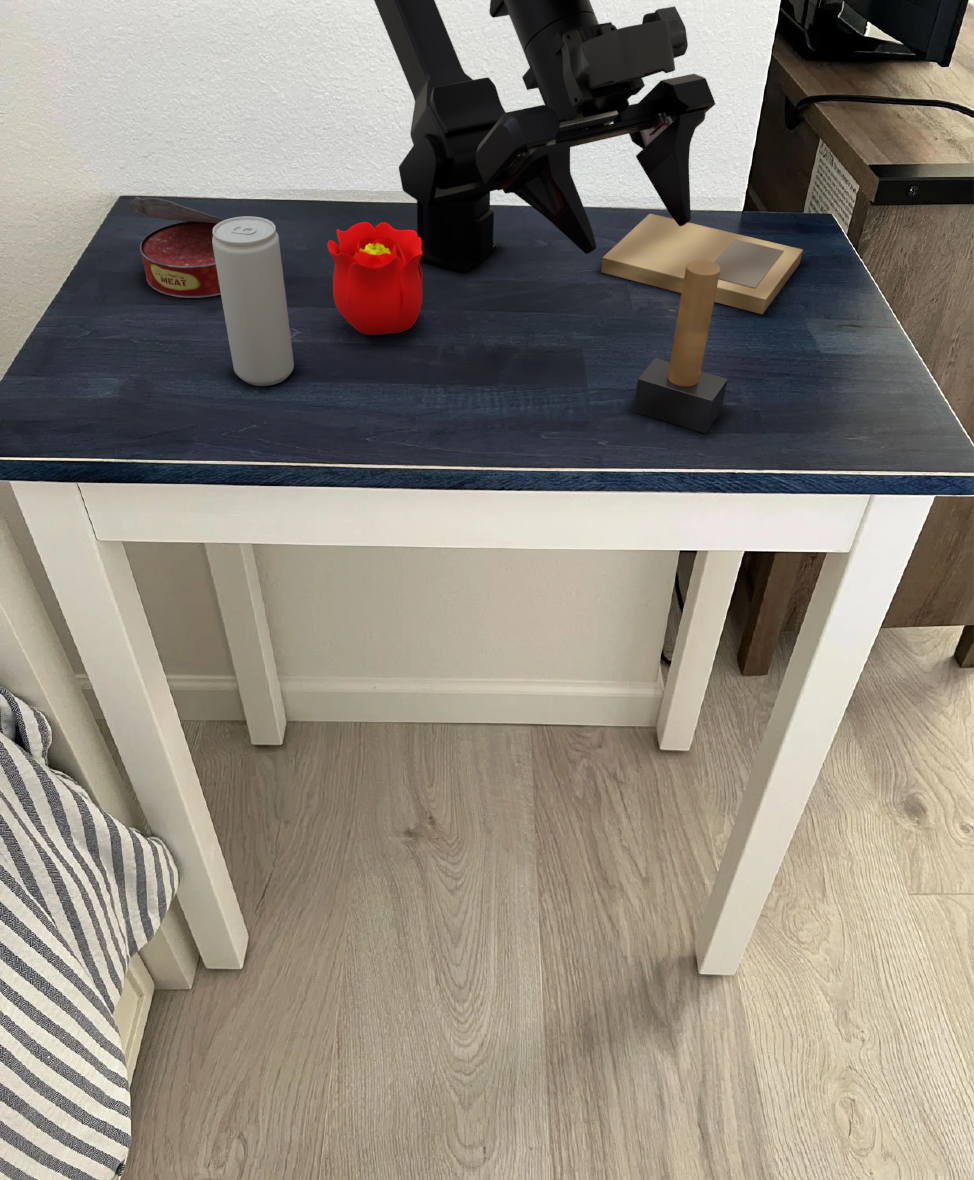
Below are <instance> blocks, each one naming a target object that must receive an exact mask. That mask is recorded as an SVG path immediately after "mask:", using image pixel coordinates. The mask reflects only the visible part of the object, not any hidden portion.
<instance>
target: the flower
mask: <svg viewBox="0 0 974 1180" xmlns="http://www.w3.org/2000/svg"><path fill="white" fill-rule="evenodd" d="M336 236H337V240H338V243H336V242H335V241H334V240H332V239H329V240H328V242H327V250H328V252H329V254H330V256H331V258H332V259H333V261H334V269H333V277H332V293H333V301H334V304H335V307H336V310H338V312H339V313H340V315H341V316H342V317H343V319H344V320H345V321H346V322H347V323H348V324H349V325H351V326H352V327H353V328H354V330H356V331H357V332H359V333H360V334H362V335H365V336H379V335H380V336H381V335H386V334H399V333H403V332H405V331H407V330H409V329H411V328H412V327H413V326H414V325H415V323H416V321H417V320H418V317H419V314H420V311H421V308H422V304H423V274H422V268H421V264H420V261H421V260H420V259H421V257H422V254H423V252H422V250H421V245H422V240H421V238H420V237H418V232H416V231H415V230H414V229H395V228H393V227H392V226H391V225H390V224H389V223H388V222H385V221H383V222H380V223H378V224H377V225H375V227H374V225H372V224H371V223H370V222H367V221H363V222H359V223H358V222H357V223H356V224H353V225H352V226H351V227H349V228H348V229H347V230H345V231H343V230H340V229H339V228H337V229H336Z"/></svg>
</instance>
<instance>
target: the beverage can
mask: <svg viewBox="0 0 974 1180" xmlns="http://www.w3.org/2000/svg"><path fill="white" fill-rule="evenodd" d="M212 244H213V250H214V256H215V262H216V268H217V274H218V280H219V286H220V292H221V295H220V296H221V303H222V309H223V313H224V320H225V321H224V322H225V328H226V332H227V338H228V344H229V349H230V355H231V361H232V366H233V372H234V374H235V375H236V376H237V377H238V378H239V379H240V380H242V381H243V382H244V383H246V384H248V385H251V386H252V385H253V386H255V387H256V386H257V387H269V386H273V385H277V384H280V383H282V382H283V381H286V379H287V378H289V377H290V375H291V374H292V372H293V370H294V367H295V364H294V363H295V361H294V354H293V344H292V338H291V337H292V336H291V328H290V321H289V320H290V319H289V312H288V302H287V295H286V294H287V293H286V287H285V286H286V285H285V279H284V271H283V270H284V269H283V261H282V253H281V246H280V238H279V234H278V232H277V229H276V225H275V223H274V222H273V221H271V220H270V219H267V218H264V217H259V216H253V215H252V216H251V215H249V216H248V215H246V216H235V217H230V218H227V219H225V220H224V221H222V222H219V223H218V224H217V225H215V226H214V228H213V238H212Z"/></svg>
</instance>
